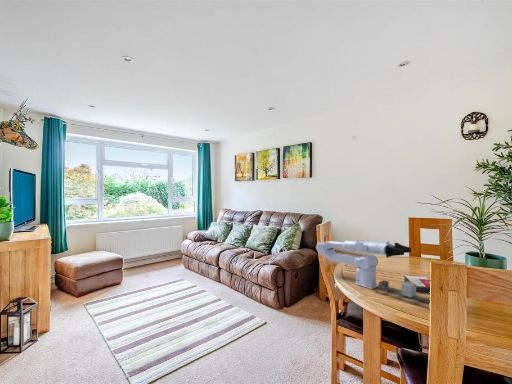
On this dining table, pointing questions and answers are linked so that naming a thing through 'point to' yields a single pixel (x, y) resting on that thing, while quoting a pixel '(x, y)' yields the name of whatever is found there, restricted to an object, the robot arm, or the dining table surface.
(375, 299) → the dining table surface
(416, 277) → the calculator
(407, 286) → the grey block
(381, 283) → the cord board
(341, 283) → the dining table surface
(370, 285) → the robot arm
